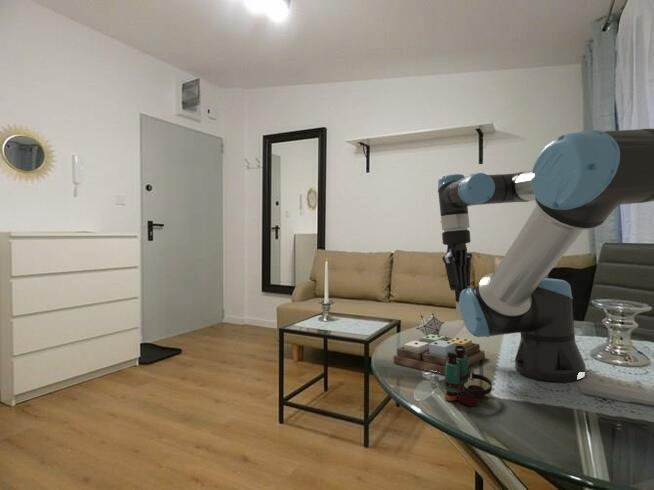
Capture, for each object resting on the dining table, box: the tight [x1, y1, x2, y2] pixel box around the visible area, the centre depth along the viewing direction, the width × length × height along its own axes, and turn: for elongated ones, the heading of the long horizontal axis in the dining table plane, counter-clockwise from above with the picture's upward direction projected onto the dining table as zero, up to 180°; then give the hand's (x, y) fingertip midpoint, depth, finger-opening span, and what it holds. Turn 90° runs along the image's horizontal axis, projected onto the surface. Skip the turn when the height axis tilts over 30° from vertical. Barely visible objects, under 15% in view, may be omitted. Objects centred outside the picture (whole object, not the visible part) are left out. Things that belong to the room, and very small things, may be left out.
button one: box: [403, 340, 429, 352], centre depth 109 cm, size 5×5×3 cm
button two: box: [429, 340, 456, 358], centre depth 103 cm, size 5×5×3 cm
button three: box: [420, 334, 446, 344], centre depth 115 cm, size 5×5×3 cm
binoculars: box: [443, 345, 493, 407], centre depth 83 cm, size 9×11×10 cm
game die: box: [416, 313, 445, 336], centre depth 134 cm, size 9×8×10 cm
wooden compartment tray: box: [392, 338, 486, 376], centre depth 109 cm, size 18×18×4 cm
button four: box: [449, 337, 473, 349], centre depth 108 cm, size 5×5×3 cm
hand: (462, 312), depth 109 cm, fingers closed
